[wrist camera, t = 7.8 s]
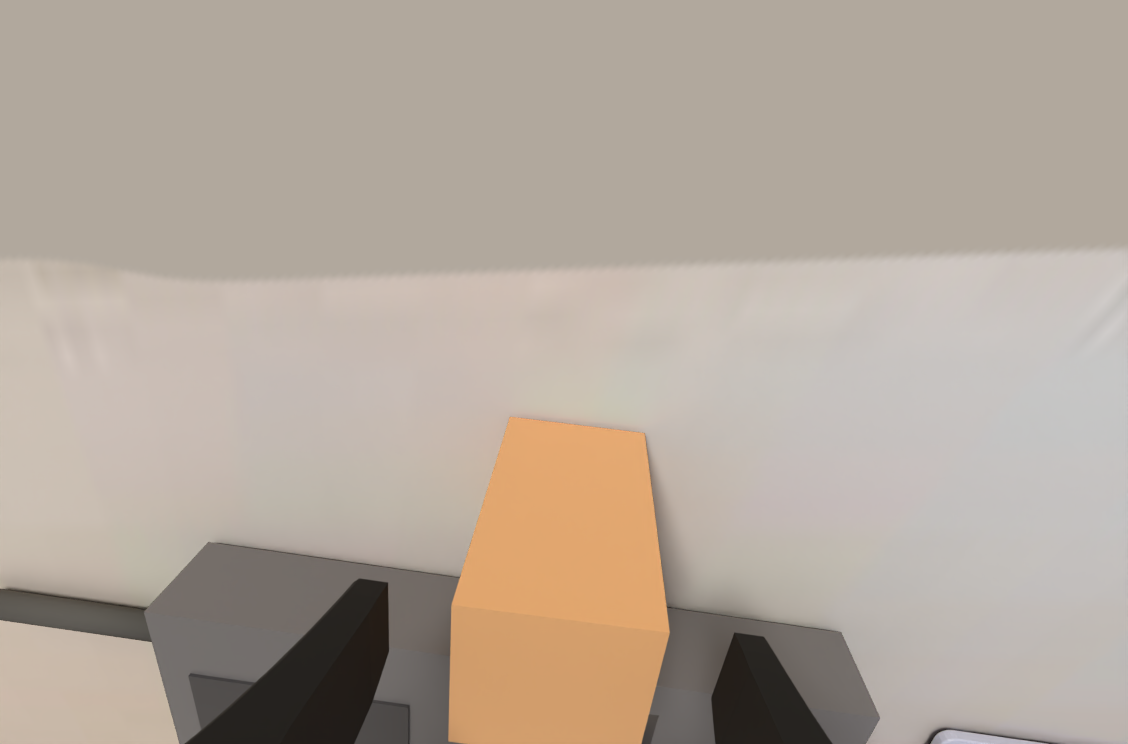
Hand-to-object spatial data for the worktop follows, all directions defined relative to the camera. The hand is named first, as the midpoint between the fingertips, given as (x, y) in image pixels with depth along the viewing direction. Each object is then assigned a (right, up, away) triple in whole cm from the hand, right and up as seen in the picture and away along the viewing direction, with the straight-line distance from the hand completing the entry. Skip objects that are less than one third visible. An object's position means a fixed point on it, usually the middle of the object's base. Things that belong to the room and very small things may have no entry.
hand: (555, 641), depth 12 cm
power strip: (-6, -5, +9) cm, 12 cm away
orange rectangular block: (0, +2, +6) cm, 6 cm away
